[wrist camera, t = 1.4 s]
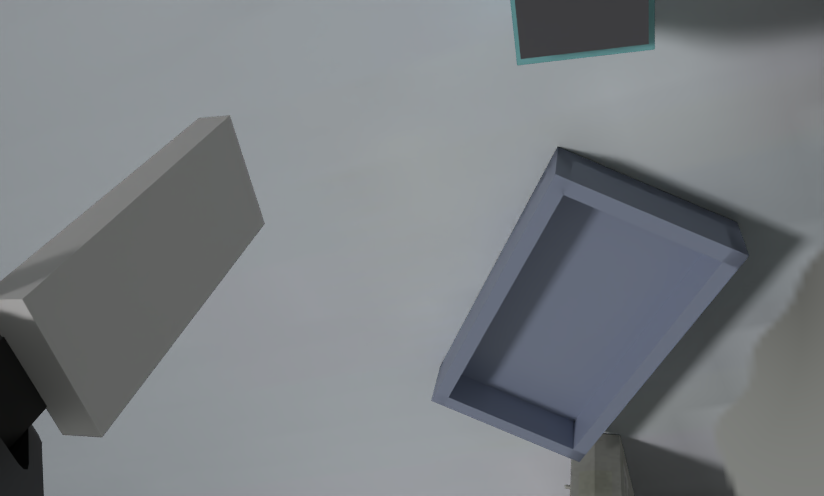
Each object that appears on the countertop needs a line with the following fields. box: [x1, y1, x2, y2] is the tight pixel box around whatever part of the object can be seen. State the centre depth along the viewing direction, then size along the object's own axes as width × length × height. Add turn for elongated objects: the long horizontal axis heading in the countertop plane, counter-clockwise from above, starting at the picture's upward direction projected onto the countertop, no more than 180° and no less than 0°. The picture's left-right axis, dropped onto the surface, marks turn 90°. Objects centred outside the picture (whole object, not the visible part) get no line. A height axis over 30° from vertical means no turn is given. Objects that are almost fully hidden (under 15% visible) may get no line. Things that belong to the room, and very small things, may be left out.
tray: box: [431, 147, 749, 462], centre depth 37 cm, size 17×10×3 cm, turn 161°
